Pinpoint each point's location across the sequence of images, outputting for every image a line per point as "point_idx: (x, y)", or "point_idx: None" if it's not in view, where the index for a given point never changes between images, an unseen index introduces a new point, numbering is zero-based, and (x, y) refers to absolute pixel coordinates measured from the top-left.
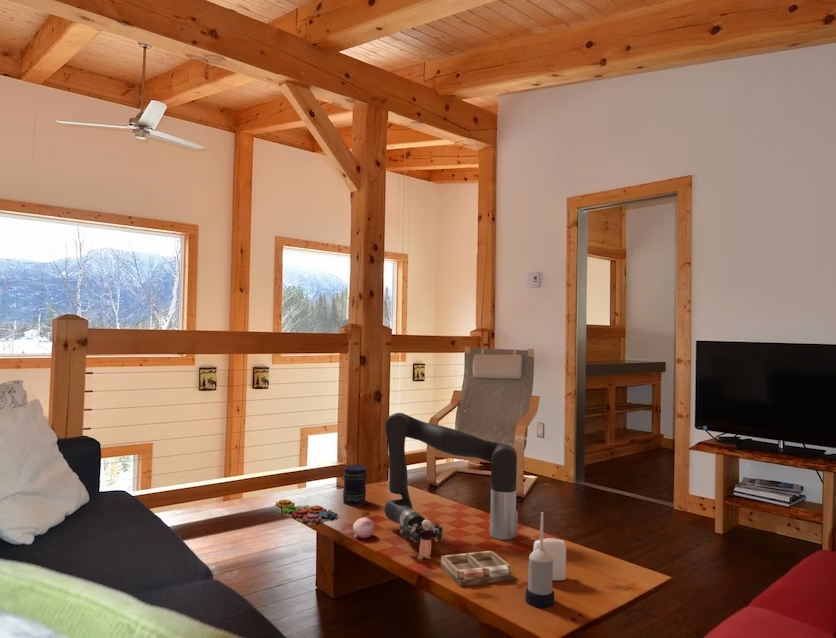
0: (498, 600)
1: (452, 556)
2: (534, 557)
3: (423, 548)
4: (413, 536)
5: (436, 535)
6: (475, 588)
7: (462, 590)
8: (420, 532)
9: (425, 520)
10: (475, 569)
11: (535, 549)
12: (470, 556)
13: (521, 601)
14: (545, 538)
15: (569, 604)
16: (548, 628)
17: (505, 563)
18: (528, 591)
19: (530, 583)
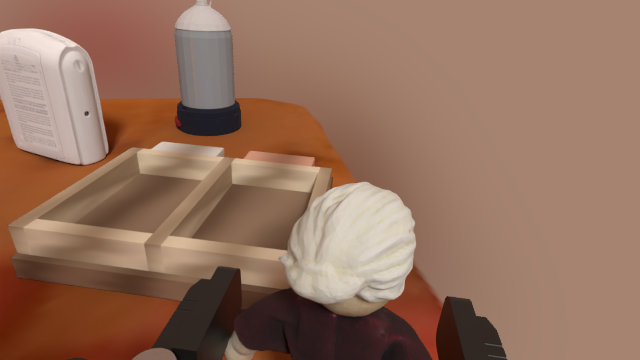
0: (285, 143)
1: (252, 248)
2: (227, 22)
3: None
4: (499, 348)
5: (240, 313)
6: None
7: (337, 181)
8: (415, 335)
9: (383, 190)
10: (262, 161)
11: (87, 66)
12: (176, 218)
13: (243, 132)
14: (36, 31)
15: (173, 112)
16: (278, 102)
17: (128, 156)
18: (235, 105)
19: (233, 86)
